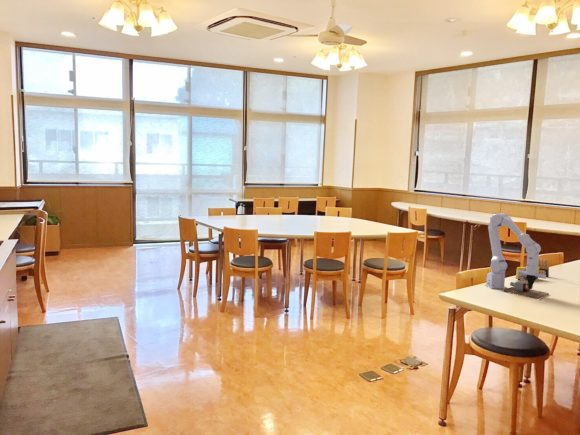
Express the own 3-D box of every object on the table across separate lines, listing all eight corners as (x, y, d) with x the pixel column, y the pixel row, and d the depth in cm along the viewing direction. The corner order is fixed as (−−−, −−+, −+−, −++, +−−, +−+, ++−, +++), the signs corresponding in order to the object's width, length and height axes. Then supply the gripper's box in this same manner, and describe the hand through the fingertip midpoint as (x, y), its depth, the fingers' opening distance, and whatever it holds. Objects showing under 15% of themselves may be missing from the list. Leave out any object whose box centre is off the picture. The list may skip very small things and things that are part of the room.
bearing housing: (527, 290, 272) (528, 281, 271) (522, 292, 268) (523, 283, 267) (520, 288, 275) (520, 280, 275) (514, 290, 271) (515, 282, 270)
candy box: (517, 280, 300) (518, 267, 299) (515, 279, 302) (516, 267, 301) (538, 279, 304) (539, 266, 303) (536, 278, 306) (537, 266, 305)
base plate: (548, 294, 267) (548, 293, 267) (538, 299, 258) (538, 297, 258) (514, 287, 281) (514, 286, 281) (503, 291, 272) (503, 289, 272)
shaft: (530, 290, 270) (530, 283, 269) (526, 291, 267) (527, 284, 266) (512, 286, 277) (513, 279, 277) (509, 288, 274) (509, 280, 274)
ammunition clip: (548, 276, 311) (550, 258, 310) (547, 277, 310) (549, 259, 309) (531, 274, 318) (532, 256, 317) (530, 274, 317) (531, 256, 316)
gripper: (548, 266, 263) (547, 290, 265) (522, 262, 274) (520, 285, 275) (543, 268, 258) (541, 292, 260) (516, 263, 269) (515, 286, 271)
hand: (530, 288), depth 267 cm, fingers closed
